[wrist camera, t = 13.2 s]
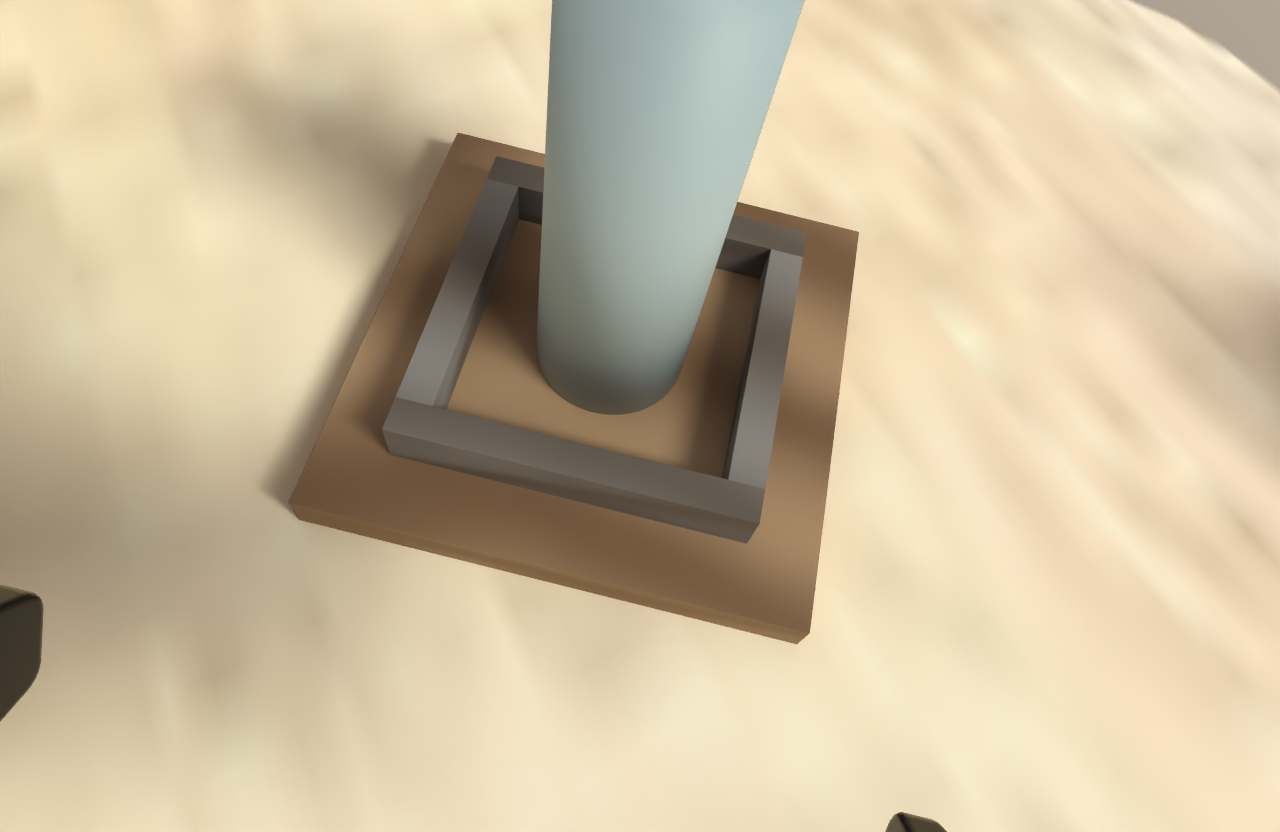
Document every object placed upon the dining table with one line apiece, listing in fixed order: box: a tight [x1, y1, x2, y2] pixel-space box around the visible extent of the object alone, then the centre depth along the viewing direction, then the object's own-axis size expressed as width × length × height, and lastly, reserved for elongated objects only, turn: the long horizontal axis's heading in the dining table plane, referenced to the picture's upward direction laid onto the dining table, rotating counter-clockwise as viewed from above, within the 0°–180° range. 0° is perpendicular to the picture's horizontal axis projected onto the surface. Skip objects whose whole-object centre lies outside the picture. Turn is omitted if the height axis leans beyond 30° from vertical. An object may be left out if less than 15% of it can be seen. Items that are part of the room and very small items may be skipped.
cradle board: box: [289, 133, 859, 644], centre depth 26 cm, size 14×14×3 cm
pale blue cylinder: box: [536, 0, 805, 415], centre depth 20 cm, size 4×4×13 cm
